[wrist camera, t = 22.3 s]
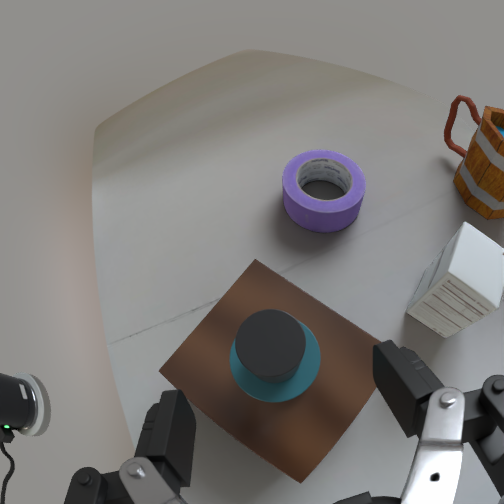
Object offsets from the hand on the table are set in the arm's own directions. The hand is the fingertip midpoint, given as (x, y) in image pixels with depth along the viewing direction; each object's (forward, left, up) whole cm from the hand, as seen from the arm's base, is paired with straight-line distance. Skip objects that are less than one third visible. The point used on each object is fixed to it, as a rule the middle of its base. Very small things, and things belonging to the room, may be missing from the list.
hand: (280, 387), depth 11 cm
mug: (+48, -9, -23) cm, 54 cm away
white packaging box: (+20, -10, -23) cm, 32 cm away
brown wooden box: (+1, +2, -23) cm, 23 cm away
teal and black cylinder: (+1, +2, -13) cm, 13 cm away
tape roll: (+25, +12, -23) cm, 36 cm away
